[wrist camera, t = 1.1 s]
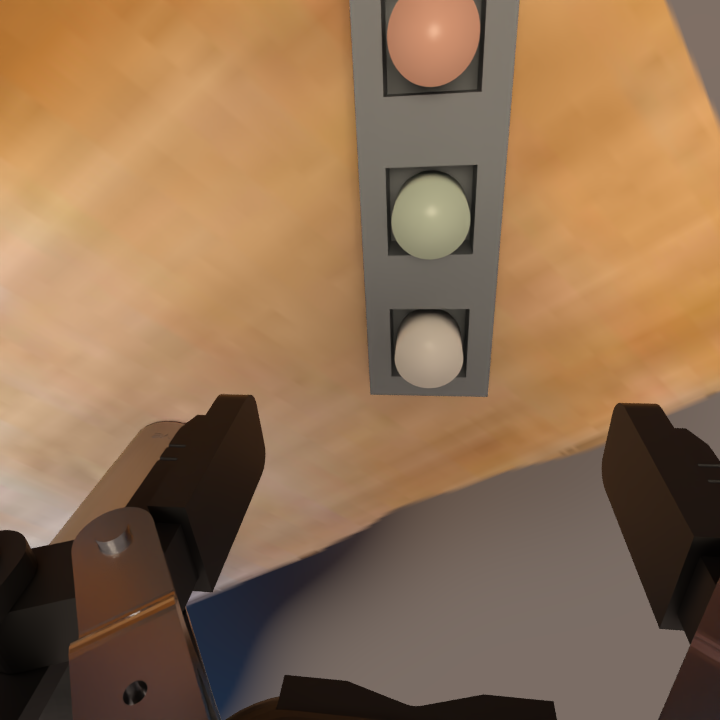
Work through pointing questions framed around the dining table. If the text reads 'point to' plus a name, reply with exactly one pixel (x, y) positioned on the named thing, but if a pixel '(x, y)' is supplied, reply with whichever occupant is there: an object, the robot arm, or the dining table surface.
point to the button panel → (441, 153)
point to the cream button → (429, 348)
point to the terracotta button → (433, 39)
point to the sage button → (430, 215)
